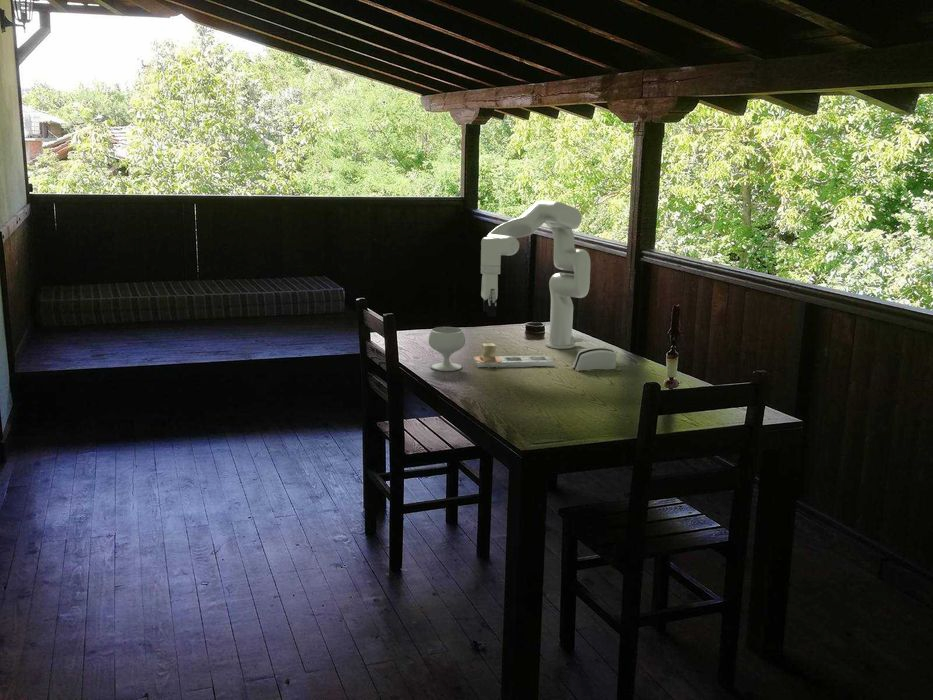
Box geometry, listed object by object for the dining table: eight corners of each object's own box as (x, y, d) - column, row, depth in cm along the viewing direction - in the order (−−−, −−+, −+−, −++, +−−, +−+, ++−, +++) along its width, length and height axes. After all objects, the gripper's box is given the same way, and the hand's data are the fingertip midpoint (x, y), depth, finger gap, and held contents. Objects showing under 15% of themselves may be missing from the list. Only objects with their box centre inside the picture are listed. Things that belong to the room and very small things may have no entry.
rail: (547, 360, 352) (547, 354, 352) (553, 366, 342) (553, 360, 342) (473, 361, 347) (473, 356, 347) (477, 367, 338) (477, 362, 337)
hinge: (610, 365, 345) (615, 344, 340) (615, 372, 342) (620, 350, 336) (570, 367, 341) (575, 346, 335) (575, 374, 337) (580, 352, 332)
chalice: (457, 362, 346) (458, 325, 342) (469, 371, 333) (470, 332, 329) (423, 365, 341) (423, 327, 338) (434, 373, 328) (435, 334, 325)
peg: (492, 363, 346) (493, 343, 344) (495, 365, 342) (495, 345, 340) (481, 363, 345) (482, 343, 344) (483, 366, 341) (484, 346, 339)
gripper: (477, 266, 343) (476, 309, 347) (484, 272, 326) (483, 318, 330) (495, 266, 344) (494, 309, 348) (504, 272, 327) (503, 317, 331)
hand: (489, 313), depth 339 cm, fingers open, 9 cm apart
